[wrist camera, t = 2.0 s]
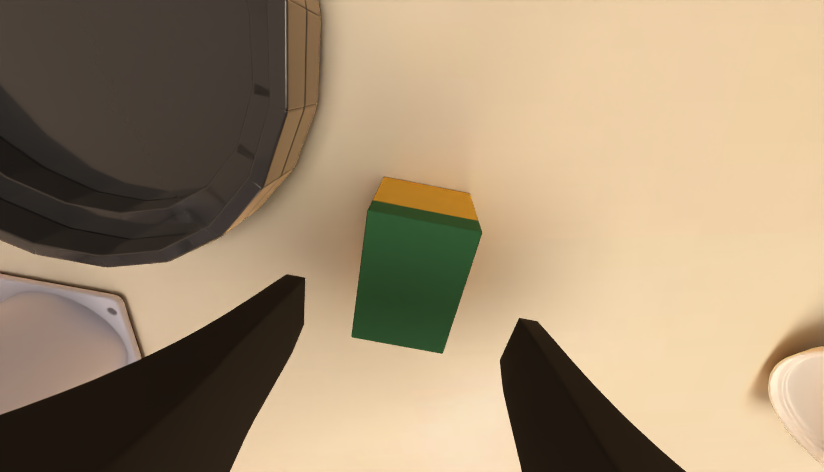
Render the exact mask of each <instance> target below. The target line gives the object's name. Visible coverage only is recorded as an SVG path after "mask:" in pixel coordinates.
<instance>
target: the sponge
mask: <svg viewBox="0 0 824 472" xmlns="http://www.w3.org/2000/svg"><path fill="white" fill-rule="evenodd" d="M481 235H482V230H481V227H480V224H479V221H478V218H477V215H476V212H475V209H474V206H473V202H472V199H471V196H470V194H469V193H464V192H459V191H454V190H449V189H444V188H439V187H434V186H429V185H423V184H418V183H413V182H408V181H403V180H398V179H393V178H388V177H384V178H383V180H382V182H381V184H380V186H379V188H378V190H377V192H376V194H375V197H374V199H373V201H372V203H371V205H370V207H369V209H368V211H367V218H366V226H365V234H364V242H363V250H362V258H361V266H360V273H359V281H358V289H357V297H356V305H355V313H354V321H353V329H352V337H353V338H359V339H364V340H370V341H375V342H381V343H387V344H392V345H398V346H403V347H409V348H414V349H420V350H425V351H431V352H436V353H443V351H444V348H445V345H446V342H447V339H448V336H449V333H450V330H451V327H452V324H453V321H454V318H455V314H456V311H457V308H458V305H459V302H460V299H461V296H462V293H463V290H464V287H465V284H466V281H467V278H468V275H469V272H470V269H471V266H472V263H473V259H474V256H475V253H476V250H477V247H478V244H479V241H480V238H481Z"/></svg>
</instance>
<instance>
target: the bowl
mask: <svg viewBox="0 0 824 472" xmlns="http://www.w3.org/2000/svg"><path fill="white" fill-rule="evenodd" d="M320 16H321V12H320V7H319V3H318V0H0V240H1V241H3V242H6V243H8V244H11V245H13V246H16V247H18V248H21V249H23V250H26V251H28V252H31V253H33V254H37V255H41V256H47V257H52V258H58V259H63V260H69V261H74V262H80V263H85V264H90V265H96V266H101V267H117V266H129V265H140V264H151V263H162V262H169V261H172V260H174V259H176V258H178V257H180V256H182V255H185V254H187V253H189V252H191V251H193V250H195V249H197V248H199V247H201V246H203V245H205V244H208V243H210V242H212V241H214V240H216V239H218V238H220V237H222V236H223V235H225V234H226V233H227V232H229V231H230V230H231V229H233V228H234V227H235V226H236V225H238V224H239V223H240V222H242V221H243V220H244V219H246V218H247V217H248V216H250V215H251V214H252V213H254V212H255V211H256V210H258V209H259V208H260V207H261V206H262V205H263V203H264V202H265V201H266V200H267V199H268V198H269V197H270V195H271V194H272V193H273V192H274V191H275V190H276V189H277V187H278V186H279V185H280V184H281V183H282V182H283V181H284V180H285V178H286V177H287V176H288V175H289V174H290V173H291V172H292V170H293V169H294V167H295V166H296V163H297V160H298V157H299V155H300V152H301V149H302V146H303V144H304V141H305V138H306V135H307V133H308V130H309V127H310V124H311V122H312V119H313V116H314V113H315V111H316V108H317V103H318V85H319V59H320V33H321V18H320Z"/></svg>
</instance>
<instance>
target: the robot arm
mask: <svg viewBox="0 0 824 472" xmlns="http://www.w3.org/2000/svg"><path fill="white" fill-rule="evenodd" d="M304 302H305V278H304V277H298V276H293V275H288V274H287V275H285V276H283V277H282V278H280V279H279V280H277V281H276V282H274V283H273V284H271V285H270V286H268V287H267V288H265V289H264V290H262V291H261V292H259V293H258V294H256V295H255V296H253V297H252V298H250V299H249V300H247V301H245V302H244V303H242V304H241V305H239V306H238V307H236V308H235V309H233V310H231V311H230V312H228V313H227V314H225V315H223V316H222V317H220V318H218V319H217V320H215V321H213V322H211V323H210V324H208V325H206V326H205V327H203V328H201V329H199V330H198V331H196V332H194V333H192V334H190V335H189V336H187V337H185V338H183V339H181V340H179V341H177V342H175V343H173V344H171V345H169V346H167V347H165V348H163V349H161V350H159V351H157V352H155V353H153V354H151V355H149V356H147V357H144V358H142V357H141V354H140V351H139V348H138V345H137V342H136V339H135V336H134V332H133V329H132V326H131V323H130V320H129V317H128V314H127V311H126V307H125V304H124V301H123V300H122V299H121V298H120V297H119V296H117V295H114V294H109V293H104V292H98V291H93V290H87V289H82V288H76V287H70V286H65V285H59V284H54V283H48V282H43V281H37V280H32V279H26V278H21V277H15V276H10V275H4V274H0V472H230V470H231V468H232V466H233V463H234V461H235V459H236V457H237V455H238V452H239V450H240V448H241V446H242V444H243V441H244V439H245V437H246V435H247V433H248V431H249V429H250V427H251V425H252V423H253V421H254V419H255V418H256V416H257V414H258V412H259V411H260V409H261V407H262V405H263V404H264V402H265V400H266V398H267V396H268V395H269V393H270V391H271V389H272V388H273V386H274V384H275V382H276V381H277V379H278V377H279V375H280V373H281V372H282V370H283V368H284V366H285V364H286V363H287V361H288V359H289V357H290V355H291V354H292V352H293V349H294V347H295V345H296V342H297V340H298V337H299V335H300V333H301V330H302V328H303V325H304ZM500 366H501V377H502V385H503V392H504V397H505V401H506V406H507V410H508V414H509V419H510V423H511V427H512V431H513V436H514V440H515V444H516V448H517V452H518V457H519V461H520V465H521V470H522V472H686V471H685V470H683V469H682V468H681V467H680V466H679V465H677V464H676V463H675V462H674V461H673V460H672V459H670V458H669V457H668V456H667V455H666V454H665V453H664V452H662V451H661V450H660V449H659V448H658V447H657V446H656V445H655V444H653V443H652V442H651V441H650V440H649V439H648V438H647V437H646V436H645V435H644V434H643V433H642V432H641V431H639V430H638V429H637V428H636V427H635V426H634V425H633V424H632V423H631V422H630V421H629V420H628V419H627V418H626V417H625V416H624V415H623V414H622V413H621V412H620V411H619V410H618V409H617V408H616V407H615V406H614V405H613V404H612V403H611V402H610V401H609V400H608V399H607V398H606V397H605V396H604V395H603V394H602V393H601V392H600V391H599V390H598V389H597V388H596V387H595V386H594V384H593V383H592V382H591V381H590V380H589V379H588V378H587V377H586V376H585V375H584V374H583V372H582V371H581V370H580V369H579V368H578V367H577V366H576V365H575V364H574V362H573V361H572V360H571V359H570V358H569V357H568V356H567V354H566V353H565V352H564V351H563V350H562V349H561V348H560V346H559V345H558V344H557V343H556V342H555V341H554V339H553V338H552V337H551V336H550V335H549V334H548V333H547V332H546V330H545V329H544V328H543V327H542V326H541V325H540V324H539V323H538V322H537V321H533V320H527V319H522V318H519V320H518V322H517V324H516V326H515V328H514V330H513V333H512V335H511V337H510V339H509V341H508V344H507V346H506V348H505V350H504V352H503V355H502V357H501V359H500Z"/></svg>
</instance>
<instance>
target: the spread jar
mask: <svg viewBox="0 0 824 472" xmlns="http://www.w3.org/2000/svg"><path fill="white" fill-rule="evenodd" d="M768 393H769V397H770V400H771V404H772V407H773V409H774V410H775V412H776V414H777V416H778V418H779V420H780V421H781V423H782V424H783V425H784V427H785V428H786V430H787V431H788V432H789V434H790V435H791V436H792V437H793V438H794V439H795V440H796V441H797V442H798V443H799V445H800V446H801V447H802V448H804V449H805V450H806V451H807V452H808V453H809V454H810V455H811V456H812V457H813V458H815V459H816V460H817V461H818V462H819V463H821V464H822V465H823V466H824V346H822V347H815V348H812V349H809V350H806V351H803V352H800V353H797V354H795V355H792V356H789V357H787V358H785V359H783V360H782V361H781V362H779V363H778V364H776V366H775V367H774V369H773V370H772V372H771V373H770V377H769V381H768Z"/></svg>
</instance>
